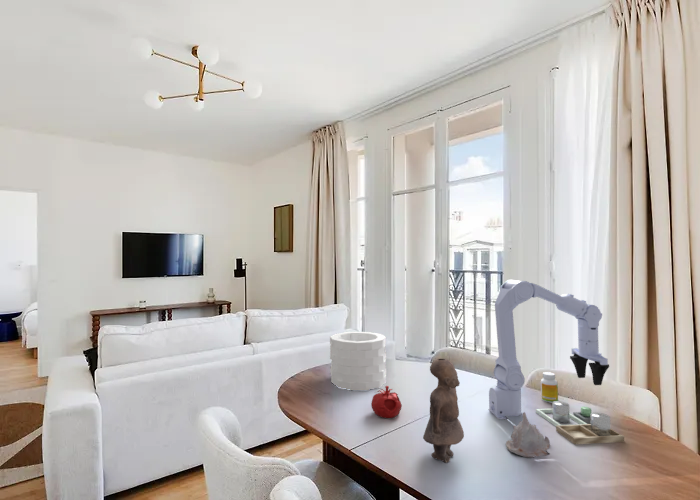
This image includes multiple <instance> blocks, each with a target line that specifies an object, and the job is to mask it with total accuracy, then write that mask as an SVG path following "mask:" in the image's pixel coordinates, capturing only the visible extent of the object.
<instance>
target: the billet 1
mask: <svg viewBox="0 0 700 500" xmlns="http://www.w3.org/2000/svg"><path fill="white" fill-rule="evenodd" d="M551 404H552V405H551V407H552V409H553V413H552V419H553V420H555V421H556V422H558V423H559V424H560V423H561V424H569V423H570V421H571V420H570V419H571V418H570V404H569V403H568V402H565V401H559V400H558V401H554V402H552V403H551Z"/></svg>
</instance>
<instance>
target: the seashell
mask: <svg viewBox="0 0 700 500" xmlns="http://www.w3.org/2000/svg"><path fill="white" fill-rule="evenodd" d="M510 438H511V439H507V441H506V443H505V446H506V449H507V450H509V451H510V452H511V453H514V454H516V455H518V456H522V457H524V458H530V459H531V458H532V459H534V458H535V457H541V456H548V455H550V452H549V451H547V450H548V449H549V447H550V446H551V443H550V439H549V437H547V436H546V435H545V437H544V435H543V433H541V432H540V430H539V429H538V428H537V425H536V424H531V423H530V422H529V420H528V418H527V415H526V412H525V411H524V412H523V413H522V421H521V420H520V421H519V422H518V424H517V425H513V430H512V434H511V435H510Z"/></svg>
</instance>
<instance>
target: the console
mask: <svg viewBox="0 0 700 500" xmlns="http://www.w3.org/2000/svg"><path fill="white" fill-rule="evenodd" d="M572 415H574V416H575V417H577V418H579V419H580V420H582V421H584V422H585V423H587V424H591V417H586V416H583V415H581V411H574V412H573V413H572Z"/></svg>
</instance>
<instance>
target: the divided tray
mask: <svg viewBox="0 0 700 500" xmlns="http://www.w3.org/2000/svg"><path fill="white" fill-rule="evenodd" d="M555 431H556V432H557V433H558V434H560V435H561V436H562V437H564V438H565V439H566V440H568V441H569V442H571V443H572V444H573V445H587V444H589V445H590V444H606V443H607V444H609V443H611V444H612V443H624V442H625V435H623V433H622V434H621V433H620V432H618V431H616V430H614V429H613V428H611V427H610V434H611V436H598V435H596V434H595V433H593V432H591V424H581V425H570V424H561V425H559V426H555Z"/></svg>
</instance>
